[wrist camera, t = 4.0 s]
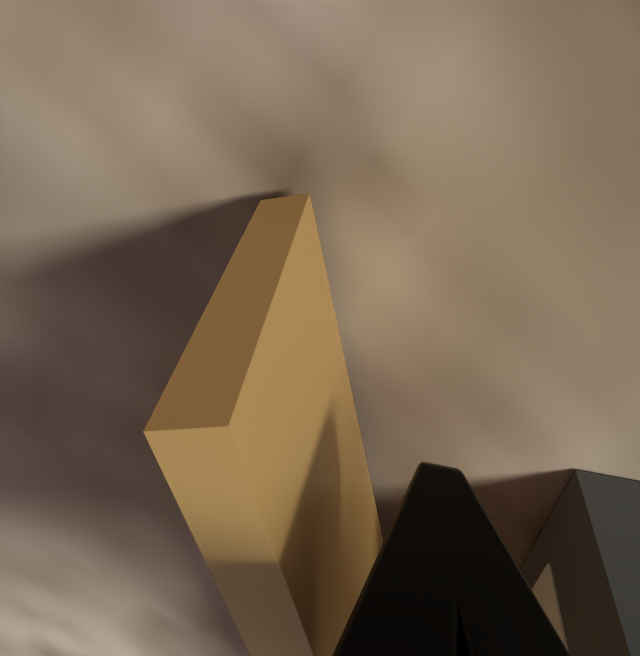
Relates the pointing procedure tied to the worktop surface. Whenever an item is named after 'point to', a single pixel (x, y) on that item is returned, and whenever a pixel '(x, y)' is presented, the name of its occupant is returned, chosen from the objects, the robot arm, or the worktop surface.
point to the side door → (272, 442)
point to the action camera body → (591, 566)
